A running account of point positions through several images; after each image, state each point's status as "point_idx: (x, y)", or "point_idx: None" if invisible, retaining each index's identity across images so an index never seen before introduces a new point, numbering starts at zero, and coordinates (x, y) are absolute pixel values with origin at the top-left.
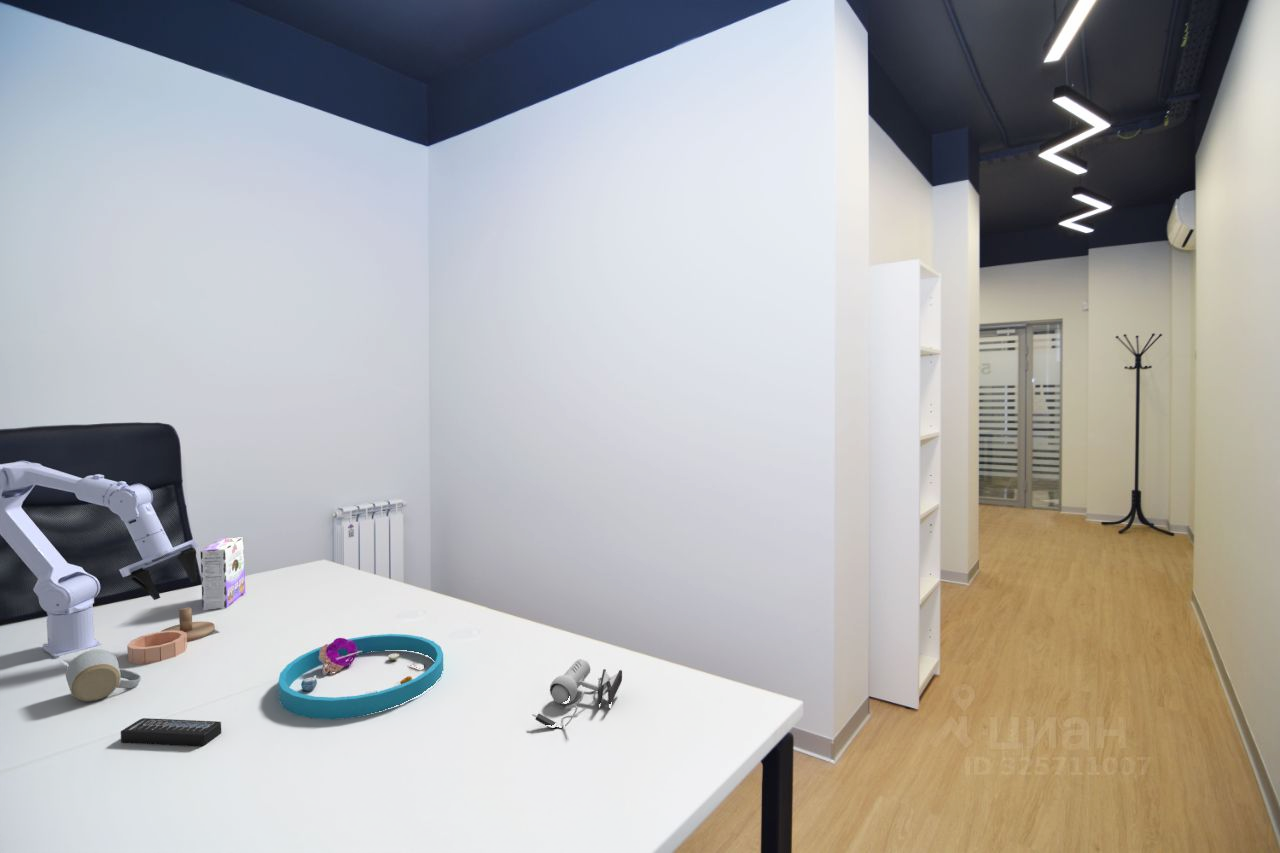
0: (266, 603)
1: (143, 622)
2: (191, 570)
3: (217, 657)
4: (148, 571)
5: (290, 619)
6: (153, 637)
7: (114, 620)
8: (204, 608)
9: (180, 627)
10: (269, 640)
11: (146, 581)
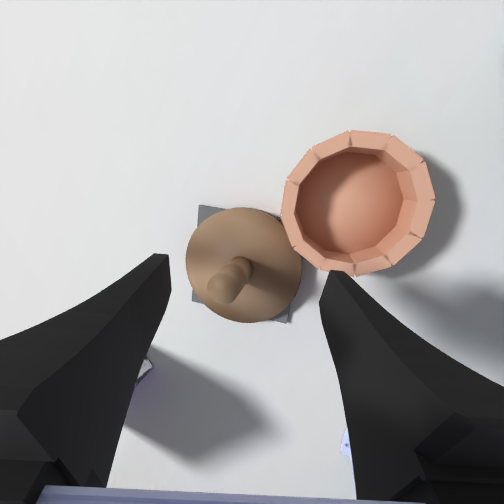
0: (63, 289)
1: (242, 418)
2: (134, 286)
3: (293, 33)
4: (444, 404)
5: (73, 138)
6: (331, 257)
7: (262, 475)
8: (147, 366)
9: (250, 273)
10: (163, 32)
11: (423, 347)
